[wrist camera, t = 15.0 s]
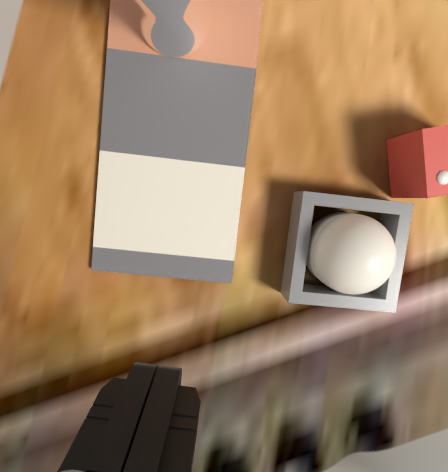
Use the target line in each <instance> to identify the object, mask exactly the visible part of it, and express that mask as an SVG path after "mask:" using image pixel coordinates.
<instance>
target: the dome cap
mask: <svg viewBox="0 0 448 472" xmlns="http://www.w3.org/2000/svg"><path fill="white" fill-rule="evenodd" d="M395 263H396V247H395V243H394V240H393V238H392V236H391V234H390V233H389V231H388V230H387V229H386V228H385V227H384V226H383V225H382V224H381V223H379V222H378V221H376V220H375V219H373V218H371V217H368V216H365V215H361V214H354V213H345V212H337V213H332V214H329V215H326V216H324V217H322V218H321V219H319V220H318V221H317V222H316V223H314V225H313V226H312V227H311V233H310V240H309V247H308V254H307V261H306V265H307V267H308V269H309V270H310V272H311V273H312V274H313V275H314V276H315V277H316V278H317V279H319V280H320V281H321V282H323V283H324V284H325V285H327V286H328V287H330V288H331V289H333V290H336V291H338V292H341V293H345V294H354V295H355V294H364V293H368V292H370V291H373V290H375V289H376V288H378V287H380V286H381V285H382V284H383V283H385V282H386V280H387V279H388V278H389V277H390V275H391V273H392V272H393V269H394V267H395Z"/></svg>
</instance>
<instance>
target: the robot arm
mask: <svg viewBox="0 0 448 472" xmlns="http://www.w3.org/2000/svg"><path fill="white" fill-rule="evenodd" d="M181 376H182V368H177V367H169V366H161V365H159V366H158V365H152V364H144V363H136V362H135V363H134V364H133V366H132V368H131V370H130V372H129V375H128V377H127V379H120V378H113V379H112V380H111V381H110V382H108V383H107V384H106V385H105V386H104V387H103V388H102V389H101V390H100V392H99V393H98V395H97V397H96V399H95V401H94V403H93V406H92V407H91V409H90V411H89V413H88V415H87V418H86V419H85V420H84V422H83V424H82V426H81V428H80V430H79V432H78V434H77V436H76V438H75V440H74V441H73V443H72V445H71V447H70V449H69V451H68V453H67V455H66V457H65V459H64V461H63V463H62V464H61V466H60V468H59V470H58V471H57V472H192V465H193V458H194V451H195V443H196V435H197V427H198V419H199V410H200V399H199V396H198V393H197V390H196V388H193V387H185V386H181Z"/></svg>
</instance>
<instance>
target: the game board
mask: <svg viewBox="0 0 448 472" xmlns="http://www.w3.org/2000/svg"><path fill="white" fill-rule="evenodd" d="M211 1H212V5H213V11H214V22H213V27H212V31H211V34H210V36H209V38H208V39H207V41H206V42H205V44H204V45H203V46H202V47H201V48H200V49H199V50H197V51H196V52H194V53H192V54H190V55H187V56H183V57H170V56H166V55H163V54H161V53H159V52H157V51H156V50H154V49H153V48H152V47H151V46H149V45H148V43H147V42H146V41H145V40H144V38H143V37H142V35H141V33H140V31H139V28H138V24H137V19H136V10H135V3H134V2H133V0H110V12H109V26H108V40H107V55H106V69H105V83H104V97H103V111H102V125H101V140H100V154H99V168H98V182H97V196H96V210H95V225H94V239H93V253H92V267H91V270H96V271H106V272H117V273H127V274H138V275H149V276H159V277H170V278H180V279H191V280H201V281H212V282H222V283H232V275H233V266H234V257H235V249H236V240H237V231H238V223H239V214H240V206H241V197H242V188H243V180H244V171H245V162H246V154H247V145H248V136H249V128H250V119H251V111H252V102H253V93H254V85H255V76H256V67H257V59H258V50H259V41H260V33H261V24H262V16H263V7H264V0H211Z"/></svg>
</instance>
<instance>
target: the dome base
mask: <svg viewBox="0 0 448 472" xmlns="http://www.w3.org/2000/svg"><path fill="white" fill-rule="evenodd" d="M314 206H323V207H332V208H341V209H350V210H358V211H367V212H376V213H381V215H380V221H379V223H381V224H382V225H383V226H384V227H385V228H386V229H387V230H388V231H389V233H390V234H391V236H392V238H393V240H394V243H395V247H396V263H395V267H394V269H393V272H392V273H391V275H390V277H389V278H388V279H387V280H386V282H385V283H383V284H382V285H381V286H380V287H378V288H376V289H375V290H373V291H370V292H368V293H364V294H355V295H354V294H345V293H341V292H338V291H336V290H333V289H331V288H330V287H328V286H323V285H312V284H303V283H304V276H305V269H306V261H307V254H308V247H309V240H310V233H311V225H312V218H313V211H314ZM413 206H414V204H412V203H403V202H395V201H386V200H377V199H369V198H360V197H351V196H343V195H334V194H325V193H316V192H308V191H294V193H293V201H292V209H291V216H290V224H289V231H288V239H287V246H286V254H285V262H284V269H283V277H282V284H281V292H280V293H281V294H282V295H283V296H284V298H285V299H286V300H287V301H288V303H297V304H308V305H319V306H329V307H340V308H351V309H362V310H373V311H383V312H394V313H395V312H396V306H397V300H398V294H399V289H400V283H401V277H402V271H403V265H404V259H405V253H406V247H407V241H408V236H409V230H410V224H411V218H412V212H413Z"/></svg>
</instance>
